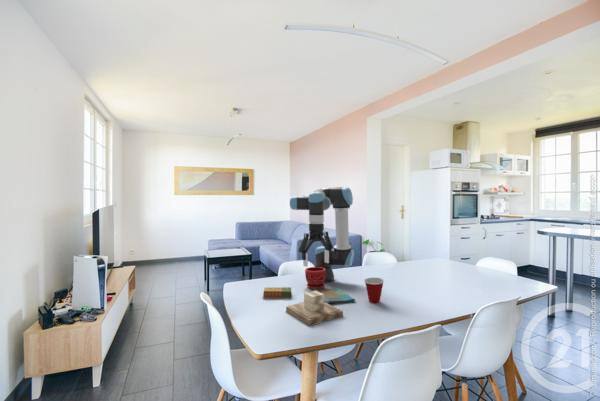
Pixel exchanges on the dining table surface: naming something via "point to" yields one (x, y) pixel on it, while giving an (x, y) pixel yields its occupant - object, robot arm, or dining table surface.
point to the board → (314, 313)
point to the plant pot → (315, 277)
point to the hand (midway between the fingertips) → (316, 264)
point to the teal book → (335, 296)
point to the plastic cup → (374, 289)
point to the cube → (314, 300)
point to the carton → (277, 292)
